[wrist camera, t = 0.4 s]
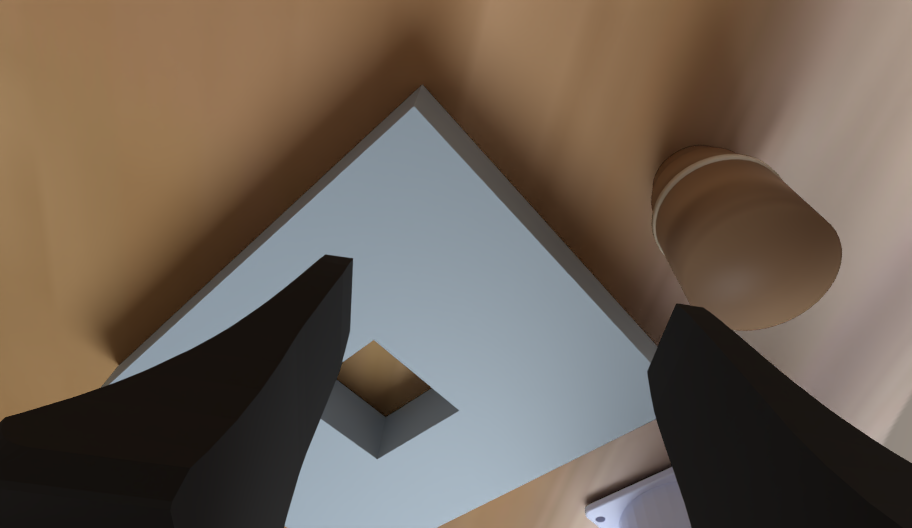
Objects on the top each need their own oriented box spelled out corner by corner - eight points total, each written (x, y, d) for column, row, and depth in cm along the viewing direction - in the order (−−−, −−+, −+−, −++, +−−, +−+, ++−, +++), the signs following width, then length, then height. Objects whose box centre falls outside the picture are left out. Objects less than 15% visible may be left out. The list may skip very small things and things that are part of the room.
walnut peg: (772, 188, 20) (868, 280, 15) (671, 250, 22) (727, 353, 17) (717, 102, 19) (803, 173, 14) (612, 176, 20) (655, 265, 15)
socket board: (670, 361, 25) (687, 403, 23) (363, 525, 32) (354, 568, 30) (422, 84, 19) (414, 106, 17) (118, 366, 26) (86, 405, 24)
